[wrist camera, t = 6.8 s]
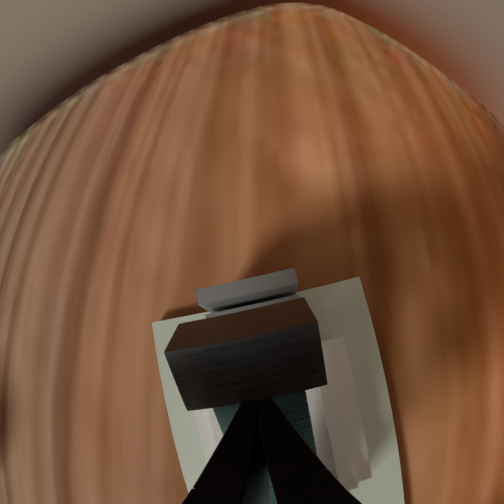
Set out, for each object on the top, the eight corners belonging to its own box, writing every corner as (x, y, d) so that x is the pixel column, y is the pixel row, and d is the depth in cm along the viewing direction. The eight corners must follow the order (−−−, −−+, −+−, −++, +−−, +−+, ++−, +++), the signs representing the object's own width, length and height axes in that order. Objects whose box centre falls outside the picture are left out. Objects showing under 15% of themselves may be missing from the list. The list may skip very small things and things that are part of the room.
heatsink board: (403, 542, 13) (431, 581, 7) (224, 577, 13) (208, 623, 7) (354, 276, 21) (381, 242, 15) (156, 320, 21) (111, 303, 15)
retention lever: (343, 544, 10) (317, 320, 8) (266, 558, 10) (163, 351, 8) (336, 517, 12) (303, 297, 10) (264, 531, 12) (178, 323, 10)
